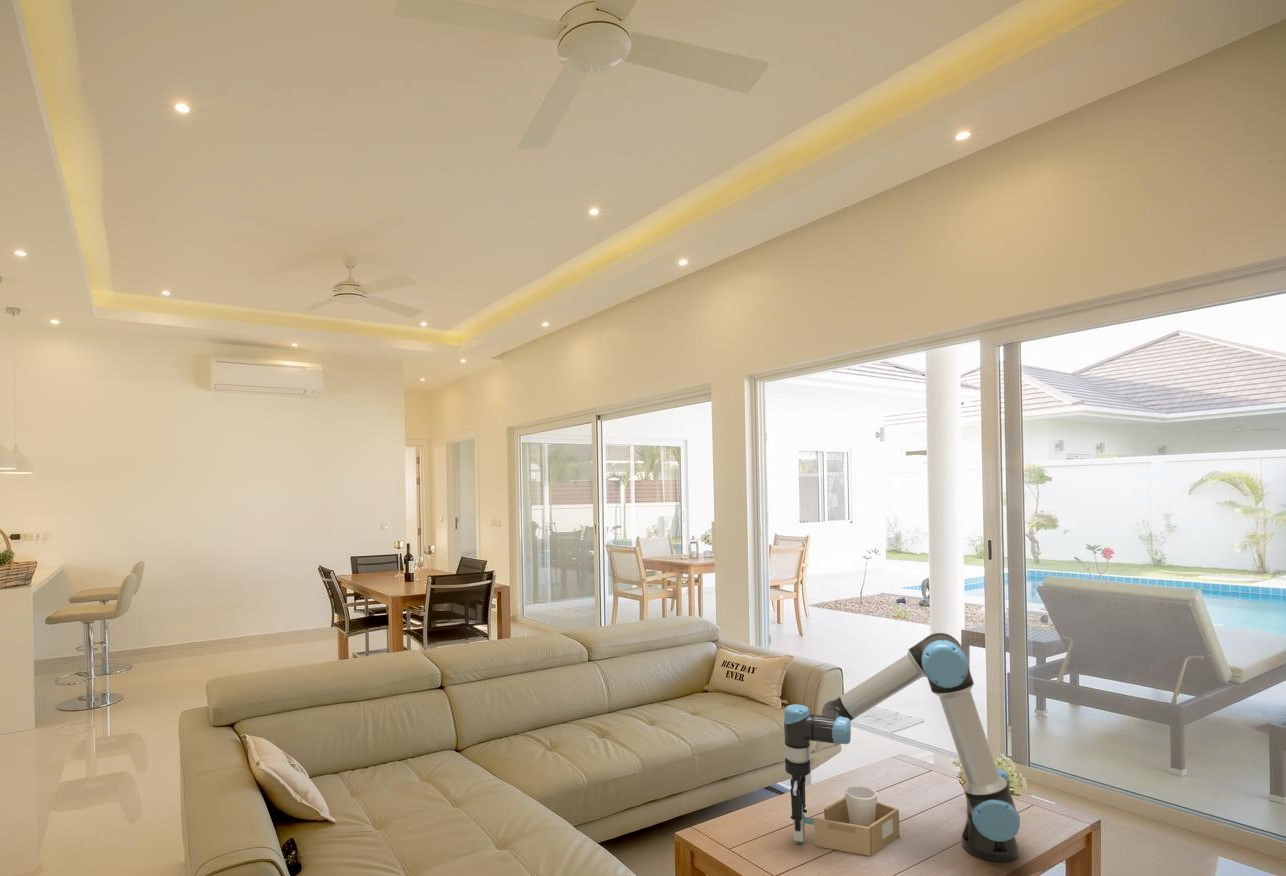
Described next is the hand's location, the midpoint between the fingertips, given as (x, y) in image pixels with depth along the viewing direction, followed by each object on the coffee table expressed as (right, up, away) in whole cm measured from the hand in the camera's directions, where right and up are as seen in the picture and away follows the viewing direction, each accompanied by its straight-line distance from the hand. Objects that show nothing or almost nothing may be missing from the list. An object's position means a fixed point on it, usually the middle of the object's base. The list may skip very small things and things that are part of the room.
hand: (799, 837), depth 219 cm
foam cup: (+20, -2, +4) cm, 20 cm away
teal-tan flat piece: (+9, -1, -4) cm, 10 cm away
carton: (+20, -1, +4) cm, 20 cm away
